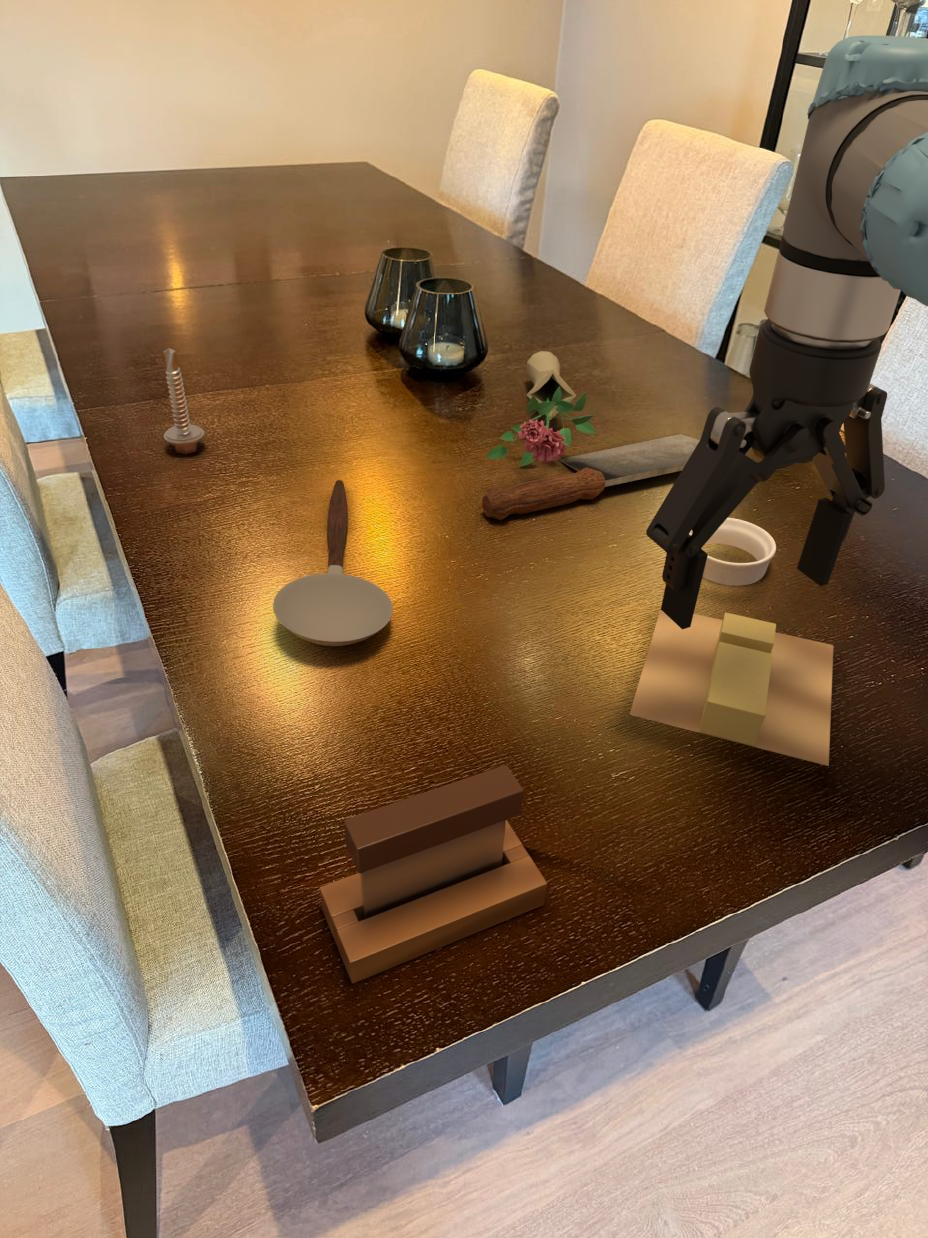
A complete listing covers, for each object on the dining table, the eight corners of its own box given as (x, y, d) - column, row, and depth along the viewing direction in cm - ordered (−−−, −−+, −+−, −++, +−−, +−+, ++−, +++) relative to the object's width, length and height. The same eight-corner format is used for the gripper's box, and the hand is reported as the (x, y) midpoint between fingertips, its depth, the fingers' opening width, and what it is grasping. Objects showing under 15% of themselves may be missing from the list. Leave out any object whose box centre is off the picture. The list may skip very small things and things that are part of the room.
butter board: (823, 778, 72) (829, 766, 71) (626, 726, 75) (629, 714, 74) (829, 657, 84) (833, 644, 83) (658, 617, 87) (661, 605, 86)
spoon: (268, 666, 79) (268, 638, 77) (292, 490, 105) (292, 467, 104) (391, 670, 80) (394, 643, 79) (384, 496, 107) (386, 473, 105)
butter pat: (764, 674, 79) (774, 643, 77) (712, 661, 80) (721, 631, 78) (766, 653, 81) (776, 623, 79) (716, 642, 82) (725, 611, 80)
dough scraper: (512, 892, 62) (524, 790, 56) (364, 952, 58) (357, 849, 52) (497, 866, 64) (506, 764, 57) (351, 922, 60) (343, 819, 53)
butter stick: (754, 746, 72) (765, 715, 70) (698, 732, 73) (707, 701, 71) (762, 684, 78) (772, 653, 76) (710, 671, 79) (719, 641, 77)
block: (544, 905, 62) (547, 883, 60) (352, 984, 57) (350, 963, 55) (503, 840, 66) (506, 818, 64) (321, 909, 61) (319, 887, 59)
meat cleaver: (679, 433, 119) (685, 405, 116) (734, 472, 111) (741, 442, 109) (450, 484, 107) (451, 454, 105) (494, 531, 99) (495, 500, 97)
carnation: (559, 438, 133) (581, 514, 101) (482, 409, 131) (480, 478, 99) (591, 361, 128) (625, 416, 96) (511, 331, 126) (519, 376, 95)
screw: (213, 451, 111) (176, 462, 108) (196, 437, 114) (160, 447, 111) (197, 350, 103) (157, 359, 100) (179, 336, 106) (140, 345, 103)
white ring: (697, 602, 90) (706, 567, 87) (667, 553, 96) (674, 518, 94) (780, 596, 91) (791, 560, 88) (744, 547, 98) (754, 513, 95)
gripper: (915, 287, 64) (830, 537, 77) (624, 333, 55) (584, 608, 68) (1006, 322, 59) (898, 584, 72) (701, 379, 49) (641, 668, 63)
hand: (745, 596), depth 70 cm, fingers open, 13 cm apart
